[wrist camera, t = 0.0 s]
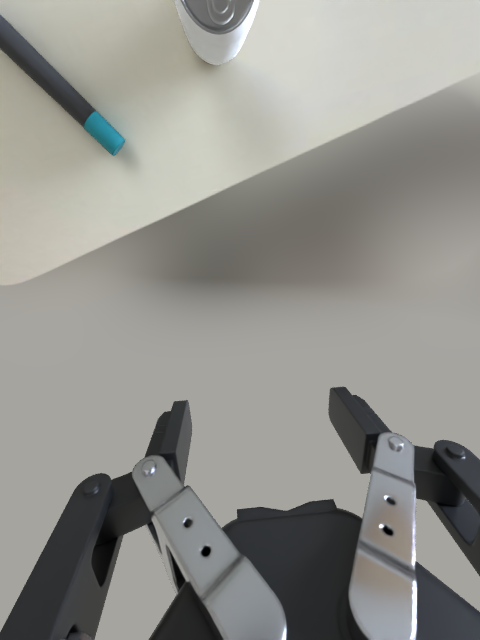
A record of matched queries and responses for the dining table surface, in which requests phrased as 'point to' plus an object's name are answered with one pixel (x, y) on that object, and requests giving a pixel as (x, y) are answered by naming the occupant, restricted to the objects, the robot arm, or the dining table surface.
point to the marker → (58, 87)
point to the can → (216, 26)
